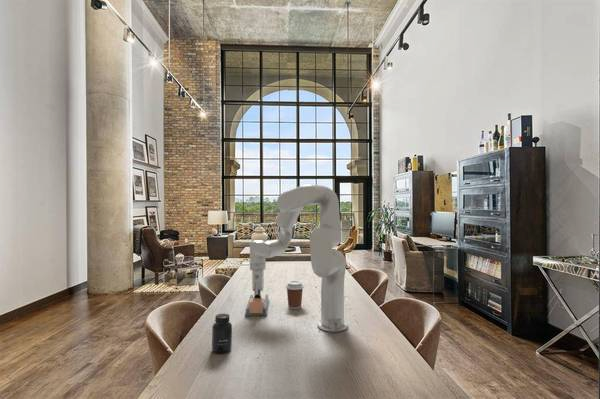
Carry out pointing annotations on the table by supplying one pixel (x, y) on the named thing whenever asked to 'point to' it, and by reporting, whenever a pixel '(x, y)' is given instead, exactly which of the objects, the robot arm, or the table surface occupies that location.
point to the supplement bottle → (221, 334)
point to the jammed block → (256, 305)
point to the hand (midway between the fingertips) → (257, 304)
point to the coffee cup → (294, 294)
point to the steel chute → (265, 308)
